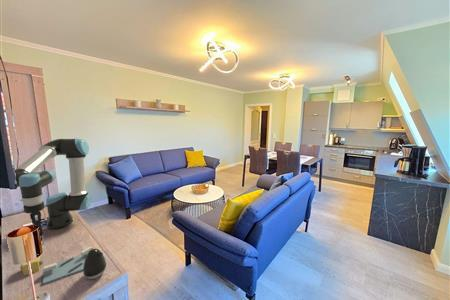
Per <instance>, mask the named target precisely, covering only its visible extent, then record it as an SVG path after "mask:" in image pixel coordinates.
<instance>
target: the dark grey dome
mask: <svg viewBox="0 0 450 300" xmlns="http://www.w3.org/2000/svg"><path fill="white" fill-rule="evenodd" d="M106 268H107V262H106V257H105V256H104V254H103V252H102V251H101V250H100V249H98V248H93V249H92V250H90V251H89V252H88V254H87V256H86V258H85V262H84V267H83V271H82V273H83V275H84V276H85V278H87V279H90V280H94V279H98V278H99V277H101V275H103V273H104V272H105V270H106Z"/></svg>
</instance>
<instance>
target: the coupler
mask: <svg viewBox="0 0 450 300" xmlns="http://www.w3.org/2000/svg"><path fill="white" fill-rule="evenodd" d="M43 258H44V257H42V258H41V255H40V256H39V257H38V258H36V259H33V260H32V261H31V262H30V263H31V269H32V272H33V273H35V272H39V271H40V269H41V266H43V264H44V259H43ZM19 269H20V272H23V276H27V275H29V270H28V265H27V263H24V264H23V263H22V264H21V265H20V266H19Z"/></svg>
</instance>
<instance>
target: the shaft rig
mask: <svg viewBox="0 0 450 300" xmlns="http://www.w3.org/2000/svg"><path fill="white" fill-rule="evenodd" d="M92 249H94V248H93V246H88V247H87V248H85V249H83V250H82V251H80V255H78V256H73V257H71V258H66V259H65V260H61V261H58V262H54V263H50V264H47V265H44V266H43V280H42V286H44V285H46V284H49V283H52V282H55V281H58V280H61V279H63V278H66V277H70V276H72V275H75V274H77V273H81V272H83V267H84V262H85V258H86V256H87V254H88V252H89V251H90V250H92Z"/></svg>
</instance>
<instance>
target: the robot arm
mask: <svg viewBox="0 0 450 300" xmlns="http://www.w3.org/2000/svg"><path fill="white" fill-rule="evenodd" d="M89 151H90V150H89V145H88V142H87V140H85V139H82V138H56V139H53V140H51V141H48V142H46V143H44V144H43V145H42V146H41V147H39V149H38V151H37V152H36V153H34V154H33V155H32V156H30V157H29V158H28V159H27V160H26V161H24V162H23V163H22V164H20V165H19V166H18V167H17V168H16V169H14V170H15V173H16V181H17V187H16V188H20V193H21V198H22V199H20V202H22V205H23V207H22V208H23V212H24V213H25V214H29V216H30V219H31V223H32V226H33V225H37V226H38V227H39V230H40V236H41V241H42V246H41V247H43V246H44V245H45V239H44V232H43V229H42V212H41V211H43V210H45V202H44V194H43V189H42V188H44V187H46V186H47V185H49V184H51V183H52V182H54V181H55V180H56V177H57V175H56V173H55V172H54V171H53V170H51V169H45V170H42V171H38V170H39V169H41V168H42V166H44V165H45V164H46V163H47V162H49V160H50V159H53V158H55V157H56V156H65V158H66V159H67V160H68V164H69V165H68V166H69V178H70V179H69V180H70V192H69V193H66V192H59V193H54V194H52V195H50V196H49V197H47V198H46V208H47V214H48V218H47V223H46V228H47V230H60V229H63V228H65V227H68V226H69V225H71V224H72V223H73V222H74V217H73V216H72V214H71V212H74V211H75V212H76V211H79V212H80V211H86V210H87V209H89V207H90V206H91V203H92V198H93V197H92V194H91V193H89V191H88V190H87V189H86V179H85V176H86V175H85V163H84V162H85V161H84V159H85V158H86V156H87V155H88V154H89V153H90V152H89Z"/></svg>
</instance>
